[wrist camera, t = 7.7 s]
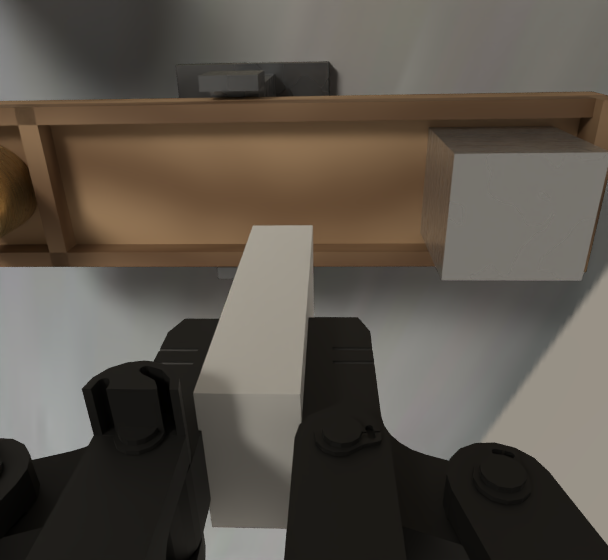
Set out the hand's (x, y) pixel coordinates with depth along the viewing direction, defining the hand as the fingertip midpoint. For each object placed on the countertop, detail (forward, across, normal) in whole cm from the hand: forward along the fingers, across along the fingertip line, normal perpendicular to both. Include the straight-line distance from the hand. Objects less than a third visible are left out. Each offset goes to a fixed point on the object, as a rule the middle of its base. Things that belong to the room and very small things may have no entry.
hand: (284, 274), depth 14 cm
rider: (+10, +8, -1) cm, 13 cm away
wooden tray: (+12, -3, -1) cm, 12 cm away
